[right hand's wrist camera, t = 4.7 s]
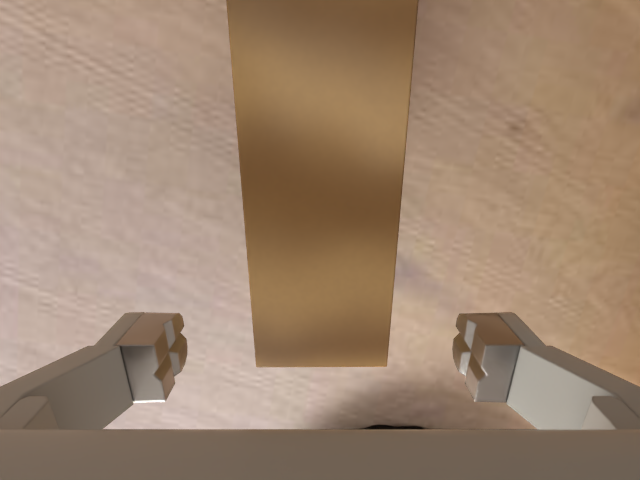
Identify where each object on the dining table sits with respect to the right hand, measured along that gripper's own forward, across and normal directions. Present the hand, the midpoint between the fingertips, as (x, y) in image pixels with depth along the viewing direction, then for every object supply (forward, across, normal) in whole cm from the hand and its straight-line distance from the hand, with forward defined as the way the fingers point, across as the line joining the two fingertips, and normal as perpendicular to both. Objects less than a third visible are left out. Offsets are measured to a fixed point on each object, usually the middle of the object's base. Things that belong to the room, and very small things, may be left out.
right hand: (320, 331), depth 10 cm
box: (+16, 0, -9) cm, 19 cm away
